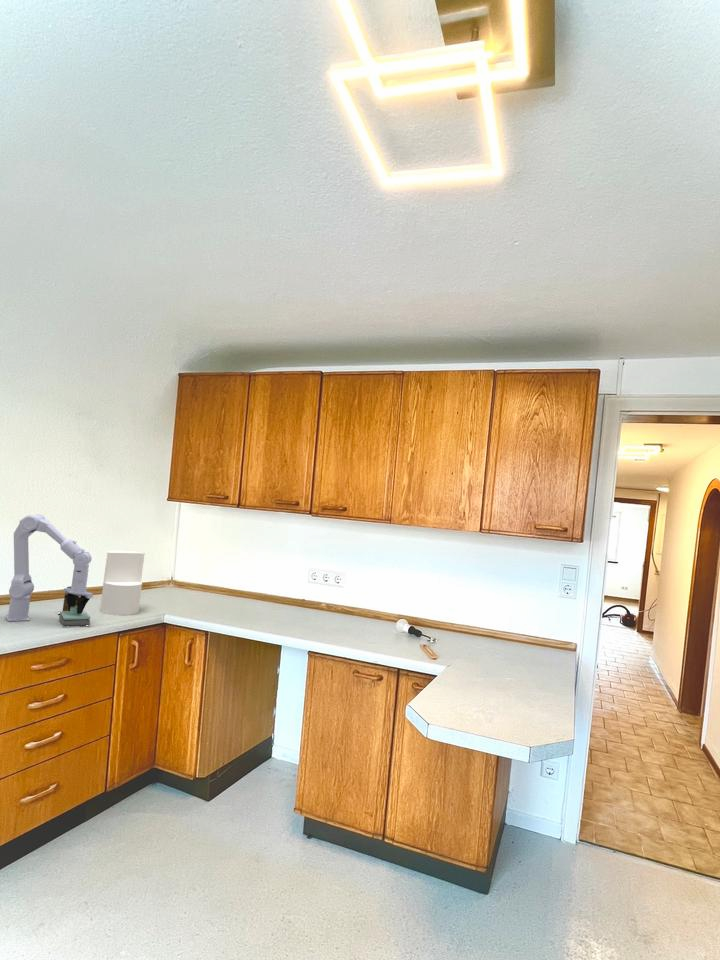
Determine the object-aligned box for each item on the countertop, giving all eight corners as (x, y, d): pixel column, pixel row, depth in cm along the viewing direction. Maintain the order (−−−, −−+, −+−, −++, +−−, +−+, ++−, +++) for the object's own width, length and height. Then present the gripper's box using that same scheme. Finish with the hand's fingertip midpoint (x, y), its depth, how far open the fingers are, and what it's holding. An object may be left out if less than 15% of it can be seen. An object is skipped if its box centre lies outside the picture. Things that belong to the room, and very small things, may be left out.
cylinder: (94, 607, 270) (102, 550, 271) (130, 606, 282) (137, 550, 283) (107, 616, 257) (115, 555, 258) (144, 614, 269) (151, 555, 270)
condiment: (79, 614, 254) (83, 588, 254) (59, 616, 248) (63, 589, 248) (74, 611, 259) (78, 585, 260) (54, 612, 253) (58, 585, 254)
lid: (59, 614, 241) (61, 604, 241) (84, 614, 247) (86, 604, 247) (63, 621, 231) (65, 610, 231) (90, 620, 237) (91, 610, 237)
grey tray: (58, 620, 241) (59, 614, 241) (84, 619, 247) (85, 613, 247) (63, 627, 231) (63, 621, 231) (89, 626, 237) (90, 620, 237)
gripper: (59, 578, 238) (54, 610, 238) (84, 584, 233) (80, 616, 233) (72, 577, 245) (68, 608, 244) (98, 582, 240) (93, 614, 239)
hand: (75, 612), depth 239 cm, fingers closed on lid, 4 cm apart
